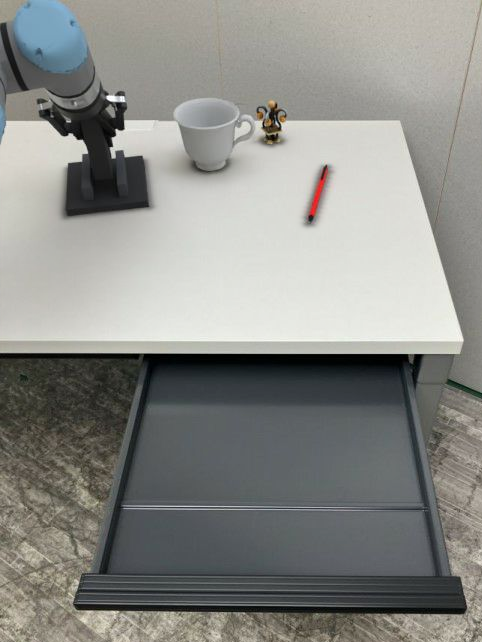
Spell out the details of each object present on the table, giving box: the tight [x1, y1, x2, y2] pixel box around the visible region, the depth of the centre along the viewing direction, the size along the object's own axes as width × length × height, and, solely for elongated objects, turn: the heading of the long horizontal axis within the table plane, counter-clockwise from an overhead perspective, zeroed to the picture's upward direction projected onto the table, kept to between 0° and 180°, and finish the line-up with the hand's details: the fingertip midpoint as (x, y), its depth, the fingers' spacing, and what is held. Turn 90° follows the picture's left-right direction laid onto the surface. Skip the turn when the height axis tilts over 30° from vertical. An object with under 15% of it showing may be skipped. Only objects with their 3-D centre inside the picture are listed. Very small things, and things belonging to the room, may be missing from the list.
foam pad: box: [80, 118, 113, 180], centre depth 101 cm, size 3×8×11 cm, turn 12°
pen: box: [308, 164, 329, 224], centre depth 107 cm, size 1×19×1 cm, turn 168°
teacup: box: [172, 97, 256, 172], centre depth 110 cm, size 12×15×10 cm
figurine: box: [255, 100, 288, 145], centre depth 117 cm, size 5×5×8 cm
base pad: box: [65, 149, 150, 217], centre depth 107 cm, size 14×16×4 cm
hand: (99, 140), depth 106 cm, fingers closed on foam pad, 3 cm apart
